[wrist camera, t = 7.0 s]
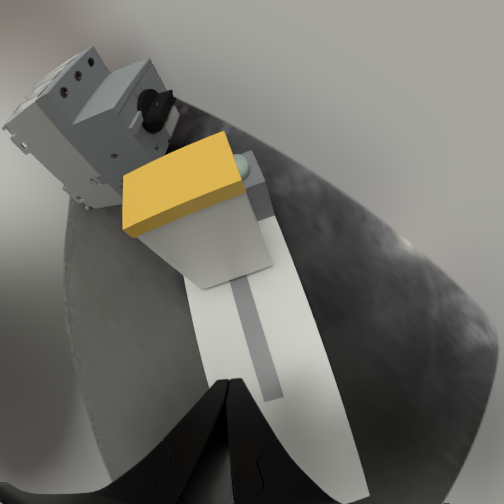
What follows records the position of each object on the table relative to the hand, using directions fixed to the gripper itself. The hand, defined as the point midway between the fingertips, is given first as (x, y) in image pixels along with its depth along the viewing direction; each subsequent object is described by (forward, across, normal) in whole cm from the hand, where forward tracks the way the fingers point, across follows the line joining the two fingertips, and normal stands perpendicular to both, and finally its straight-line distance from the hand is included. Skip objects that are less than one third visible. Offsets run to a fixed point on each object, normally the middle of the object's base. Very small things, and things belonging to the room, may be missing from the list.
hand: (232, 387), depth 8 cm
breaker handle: (+11, 0, -2) cm, 11 cm away
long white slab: (+8, -1, +4) cm, 9 cm away
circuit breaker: (+22, +10, -10) cm, 26 cm away
